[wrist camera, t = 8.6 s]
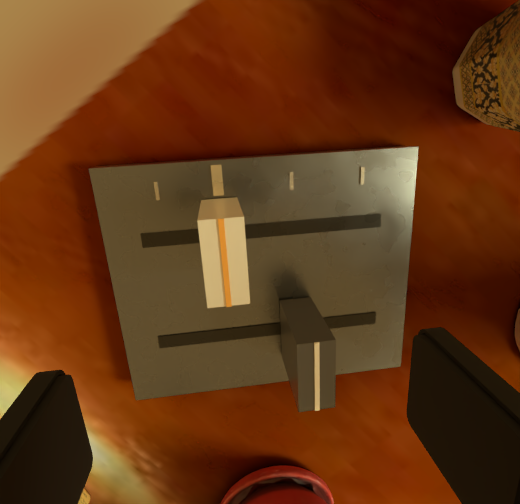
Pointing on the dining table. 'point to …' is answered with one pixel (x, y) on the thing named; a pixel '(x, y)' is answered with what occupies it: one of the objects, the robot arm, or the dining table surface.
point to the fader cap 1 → (223, 252)
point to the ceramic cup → (492, 72)
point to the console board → (258, 261)
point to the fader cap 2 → (308, 354)
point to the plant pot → (279, 487)
